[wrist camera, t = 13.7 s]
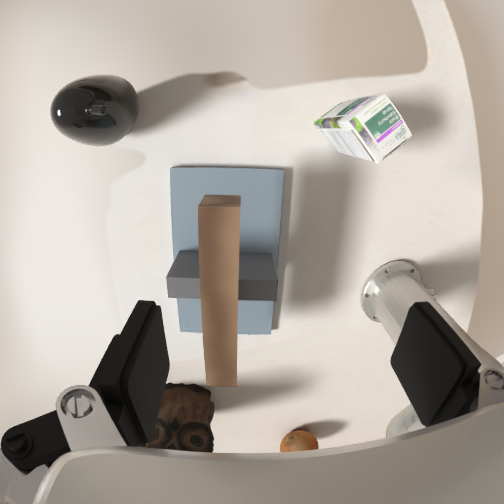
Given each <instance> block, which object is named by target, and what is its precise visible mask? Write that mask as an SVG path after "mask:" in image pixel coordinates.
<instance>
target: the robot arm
mask: <svg viewBox="0 0 504 504" xmlns="http://www.w3.org/2000/svg"><path fill="white" fill-rule="evenodd" d="M433 295H435V289H434V288H428V289H427V288H426V287H425V286H424V285H423V284H422V280H421V276H420V274H419V272H418V270H417V269H416V268H415V267H414V266H413V265H412V264H410V263H408V262H405V261H394V262H390V263H387V264H385V265H383V266H382V267H380V268H379V269H377V270H376V271H375V272H374V273H373V274H372V275H371V276H370V277H369V279H368V280H367V282H366V284H365V286H364V288H363V291H362V294H361V305H362V308H363V310H364V312H365V314H366V315H367V316H368V317H369V318H370V319H371V320H373V321H376V322H381V323H382V325H383V326H384V328H385V329H386V331H387V332H388V334H389V336H390V337H391V339H392V340H393V342H394V344H395V345H396V346H395V349H394V351H393V354H392V356H391V366H392V368H393V370H394V371H395V373H396V375H397V377H398V379H399V381H400V383H401V385H402V386H403V388H404V390H405V392H406V394H407V396H408V398H409V400H410V402H411V404H410V405H408V406H407V407H406V408H405V409H403V410H402V411H401V412H400V413H398V414H397V415H396V416H395V417H394V418H393V419H392V420H391V421H390V423H389V424H388V426H387V429H386V438H383V439H379V440H374V441H369V442H364V443H358V444H353V445H347V446H340V447H333V448H325V449H317V450H307V451H295V452H281V453H207V452H191V451H179V450H169V449H157V448H146V443H151V442H152V439H153V435H154V430H155V426H156V422H157V417H158V413H159V409H160V405H161V401H162V397H163V393H164V389H165V385H166V381H167V377H168V373H169V367H170V363H169V356H168V351H167V345H166V339H165V332H164V326H163V319H162V312H161V307H160V306H158V305H156V303H155V302H154V301H144V300H139V301H138V302H137V304H136V306H135V308H134V309H133V311H132V313H131V315H130V317H129V319H128V321H127V322H126V324H125V326H124V328H123V330H122V332H121V334H120V335H119V334H117V335H115V336H114V337H113V339H112V341H111V343H110V344H109V346H108V348H107V350H106V352H105V354H104V356H103V358H102V360H101V362H100V364H99V366H98V368H97V370H96V372H95V374H94V376H93V378H92V380H91V382H90V384H89V386H85V385H76V386H72V387H69V388H67V389H65V390H64V391H63V392H62V393H61V394H60V395H59V397H58V398H57V401H56V410H55V411H53V412H50V413H48V414H45V415H42V416H40V417H37V418H35V419H32V420H30V421H27V422H25V423H22V424H19V425H17V426H14V427H12V428H10V429H9V430H7V431H6V432H5V434H4V435H3V437H2V441H1V448H0V504H504V367H503V366H502V365H501V364H500V363H499V362H498V361H497V360H496V359H495V358H494V357H493V356H491V355H490V354H489V353H488V352H486V351H485V350H484V349H483V348H481V347H480V346H479V345H478V344H477V343H476V342H475V341H473V340H472V339H471V338H470V336H468V334H467V333H466V332H465V331H464V330H463V329H462V328H461V327H460V326H459V325H458V324H457V323H456V322H455V320H454V319H453V318H452V317H451V316H450V315H449V314H448V313H447V312H446V311H445V310H444V309H443V308H442V307H441V305H440V304H439V303H438V302H437V301H436V299H435V298H433V297H432V296H433Z"/></svg>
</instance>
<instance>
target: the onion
mask: <svg viewBox="0 0 504 504" xmlns="http://www.w3.org/2000/svg"><path fill="white" fill-rule="evenodd" d="M317 449H318V441H317V439H316V438H315V436H314V435H313V434H312V433H310V432H308V431H303V430H297V431H293V432H290V433H289V434H287V435H286V436H285V437H284V439H283V440H282V442H281V445H280V451H281V452H295V451H307V450H317Z"/></svg>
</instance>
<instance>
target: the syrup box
mask: <svg viewBox="0 0 504 504" xmlns="http://www.w3.org/2000/svg"><path fill="white" fill-rule="evenodd" d="M314 124H315V126H316V127H317V128H318V129H319V131H320V132H321V133H322V134H323V135H324V137H325V138H326V139H327V140H328V142H329V143H330V144H331V145H332V147H333V148H334V149H335V151H336V152H338V153H342V154H346V155H350V156H353V157H357V158H361V159H364V160H368V161H371V162H375V163H380V162H381V161H382V160H383V159H385V158H386V157H387V156H389V155H390V154H391V153H393V152H394V151H395V150H397V149H398V148H399V147H400V146H401V145H403V144H404V143H405V142H406V141H407V140H408V139H410V138H411V137H412V136H413V135H412V133H411V131H410V130H409V128H408V126H407V124H406V123H405V121H404V119H403V118H402V116H401V114H400V113H399V111H398V110H397V108H396V107H395V106H394V104H393V103H392V101H391V100H390V99H389V97H388V96H387V95H386V94H385V93H384V94H379V95H374V96H369V97H363V98H359V99H354V100H349V101H345V102H342V103H340V104H338V105H337V106H335V107H334V108H332V109H331V110H330V111H328V112H327V113H326V114H324V115H323V116H322V117H321V118H319V119H318V120H317V121H315V122H314Z"/></svg>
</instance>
